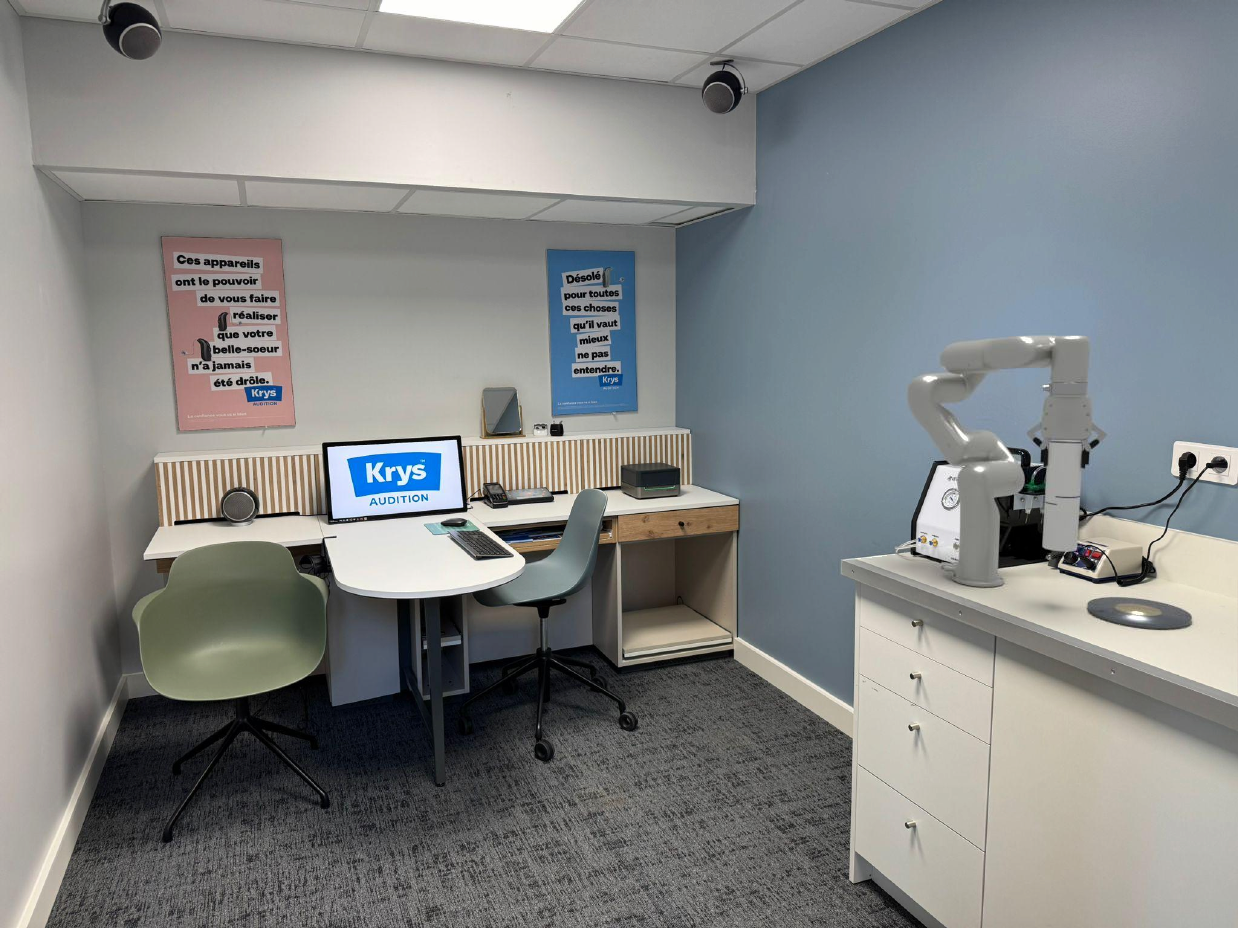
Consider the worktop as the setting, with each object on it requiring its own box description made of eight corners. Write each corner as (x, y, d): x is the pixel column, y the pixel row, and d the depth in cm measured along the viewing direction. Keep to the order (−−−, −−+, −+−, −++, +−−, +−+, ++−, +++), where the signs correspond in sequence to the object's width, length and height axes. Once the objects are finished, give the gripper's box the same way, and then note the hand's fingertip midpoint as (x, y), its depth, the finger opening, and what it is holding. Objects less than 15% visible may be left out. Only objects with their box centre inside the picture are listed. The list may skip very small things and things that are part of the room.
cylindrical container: (1074, 552, 186) (1080, 444, 183) (1039, 548, 190) (1045, 442, 187) (1079, 546, 192) (1085, 441, 188) (1045, 542, 196) (1051, 439, 193)
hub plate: (1087, 621, 181) (1087, 616, 181) (1086, 597, 198) (1086, 592, 198) (1196, 634, 171) (1197, 628, 171) (1186, 608, 189) (1186, 603, 188)
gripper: (1025, 390, 187) (1021, 467, 190) (1113, 391, 179) (1108, 471, 181) (1026, 389, 194) (1023, 463, 196) (1112, 389, 185) (1107, 466, 188)
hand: (1064, 466), depth 189 cm, fingers closed on cylindrical container, 7 cm apart
